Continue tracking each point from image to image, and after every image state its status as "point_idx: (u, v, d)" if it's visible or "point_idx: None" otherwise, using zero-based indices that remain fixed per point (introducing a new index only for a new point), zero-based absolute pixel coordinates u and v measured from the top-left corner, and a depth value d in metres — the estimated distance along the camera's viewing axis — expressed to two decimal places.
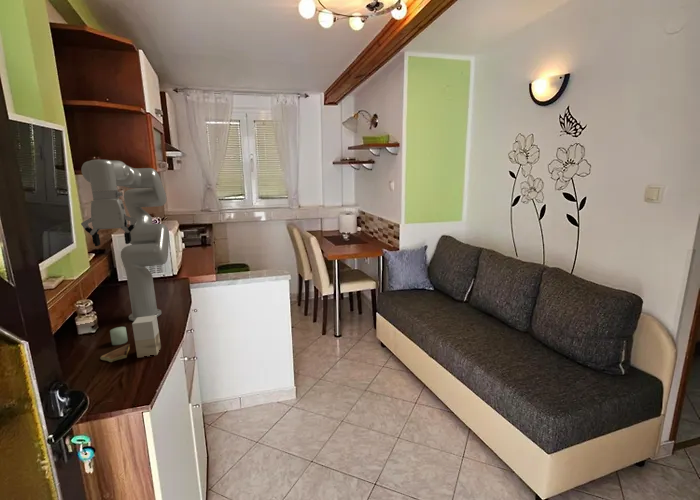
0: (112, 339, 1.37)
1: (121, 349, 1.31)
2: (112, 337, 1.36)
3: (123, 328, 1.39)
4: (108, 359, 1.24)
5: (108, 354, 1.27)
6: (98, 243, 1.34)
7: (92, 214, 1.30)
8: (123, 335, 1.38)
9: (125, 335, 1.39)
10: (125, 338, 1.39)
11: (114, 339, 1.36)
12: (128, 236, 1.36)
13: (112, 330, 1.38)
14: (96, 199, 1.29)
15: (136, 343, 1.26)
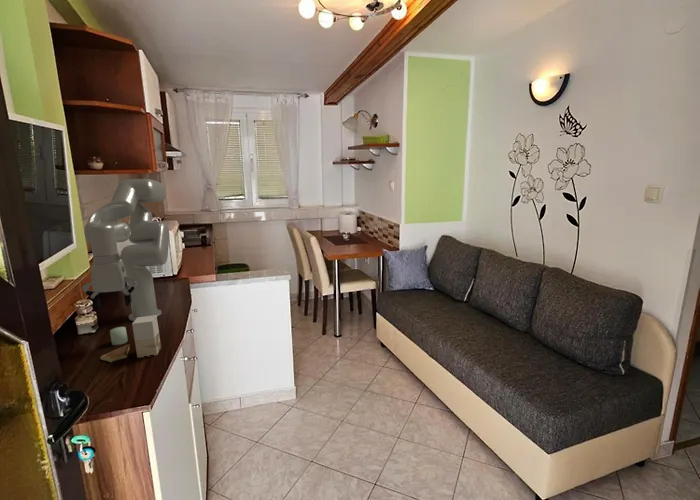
0: (112, 339, 1.37)
1: (121, 349, 1.31)
2: (112, 337, 1.36)
3: (123, 328, 1.39)
4: (108, 359, 1.24)
5: (108, 354, 1.27)
6: (98, 306, 1.35)
7: (93, 278, 1.31)
8: (123, 335, 1.38)
9: (125, 335, 1.39)
10: (125, 338, 1.39)
11: (114, 339, 1.36)
12: (128, 298, 1.36)
13: (112, 330, 1.38)
14: (97, 264, 1.30)
15: (136, 343, 1.26)
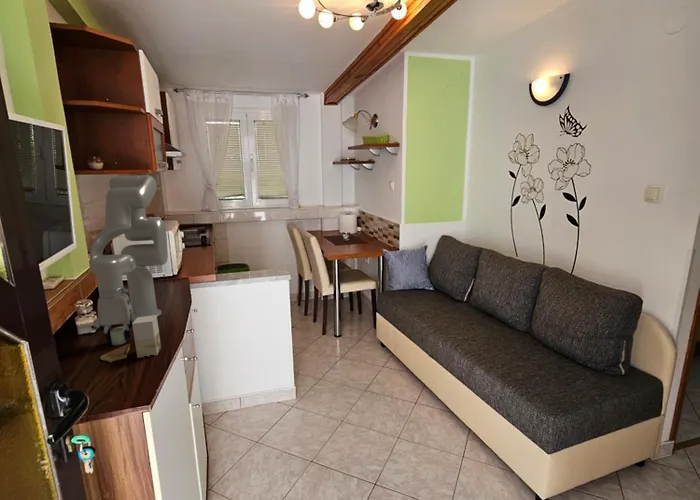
0: (112, 339, 1.37)
1: (121, 349, 1.31)
2: (112, 337, 1.36)
3: (123, 328, 1.39)
4: (108, 359, 1.24)
5: (108, 354, 1.27)
6: None
7: (99, 312, 1.34)
8: (123, 335, 1.38)
9: None
10: None
11: (114, 339, 1.36)
12: (128, 333, 1.39)
13: (112, 330, 1.38)
14: (103, 299, 1.32)
15: (136, 343, 1.26)
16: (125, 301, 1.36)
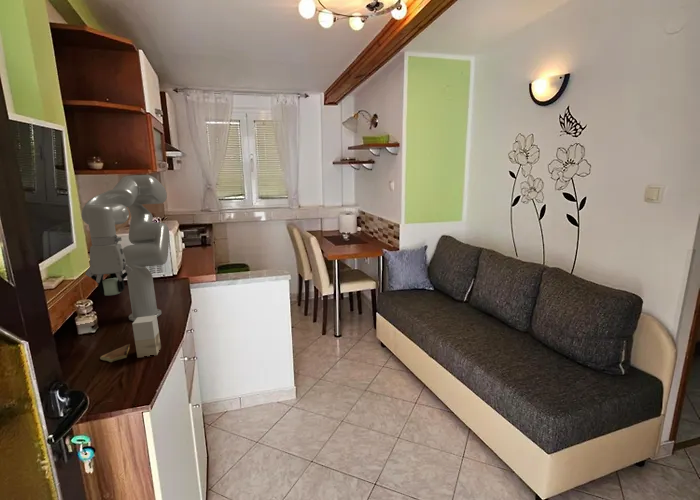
0: (104, 289, 1.33)
1: (121, 349, 1.31)
2: (104, 287, 1.32)
3: (116, 279, 1.35)
4: (108, 359, 1.24)
5: (108, 354, 1.27)
6: None
7: (91, 260, 1.30)
8: (116, 286, 1.34)
9: None
10: None
11: (107, 289, 1.32)
12: (121, 284, 1.35)
13: (105, 280, 1.34)
14: (95, 246, 1.28)
15: (136, 343, 1.26)
16: (118, 250, 1.32)
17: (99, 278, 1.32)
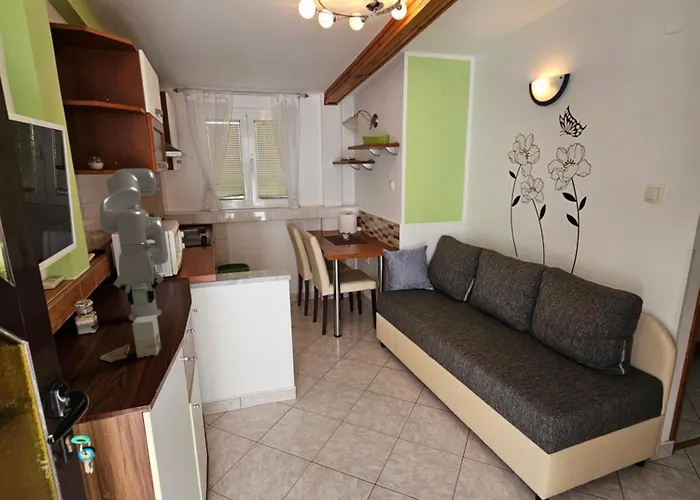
0: (134, 300, 1.24)
1: (121, 349, 1.31)
2: (134, 297, 1.24)
3: (146, 288, 1.26)
4: (108, 359, 1.24)
5: (108, 354, 1.27)
6: None
7: (120, 269, 1.21)
8: (146, 296, 1.25)
9: None
10: (148, 299, 1.26)
11: (137, 300, 1.23)
12: (152, 294, 1.26)
13: (134, 290, 1.25)
14: (125, 253, 1.20)
15: (136, 343, 1.26)
16: (149, 257, 1.23)
17: (128, 288, 1.23)
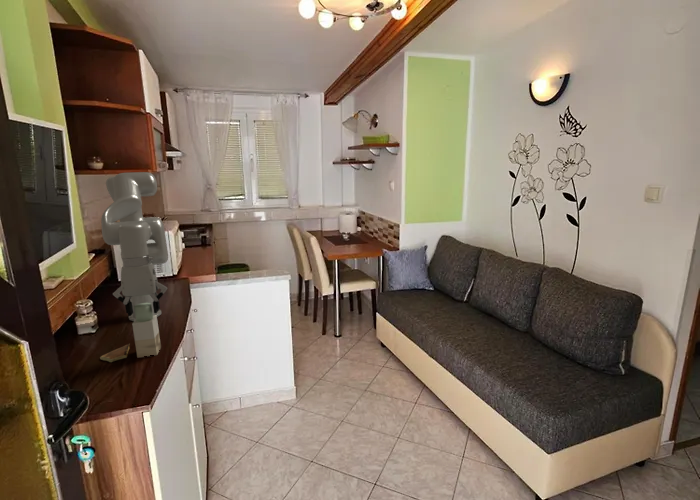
0: (137, 315, 1.25)
1: (121, 349, 1.31)
2: (137, 313, 1.25)
3: (148, 304, 1.27)
4: (108, 359, 1.24)
5: (108, 354, 1.27)
6: (131, 312, 1.26)
7: (122, 282, 1.22)
8: (149, 312, 1.26)
9: (150, 311, 1.27)
10: (150, 315, 1.27)
11: (139, 316, 1.25)
12: (157, 304, 1.27)
13: (137, 306, 1.26)
14: (127, 267, 1.21)
15: (136, 343, 1.26)
16: (151, 270, 1.24)
17: (127, 300, 1.24)
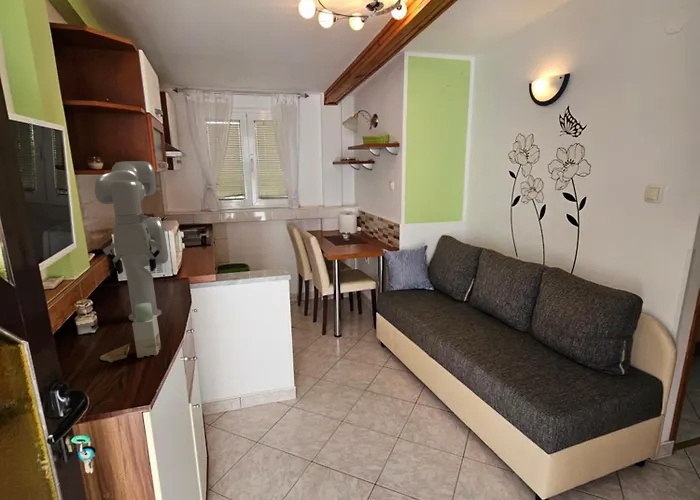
0: (137, 315, 1.25)
1: (121, 349, 1.31)
2: (137, 313, 1.25)
3: (148, 304, 1.27)
4: (108, 359, 1.24)
5: (108, 354, 1.27)
6: (121, 270, 1.24)
7: (115, 240, 1.20)
8: (149, 312, 1.26)
9: (150, 311, 1.27)
10: (150, 315, 1.27)
11: (139, 316, 1.25)
12: (153, 262, 1.25)
13: (136, 306, 1.26)
14: (120, 224, 1.19)
15: (136, 343, 1.26)
16: (144, 229, 1.22)
17: (117, 258, 1.22)
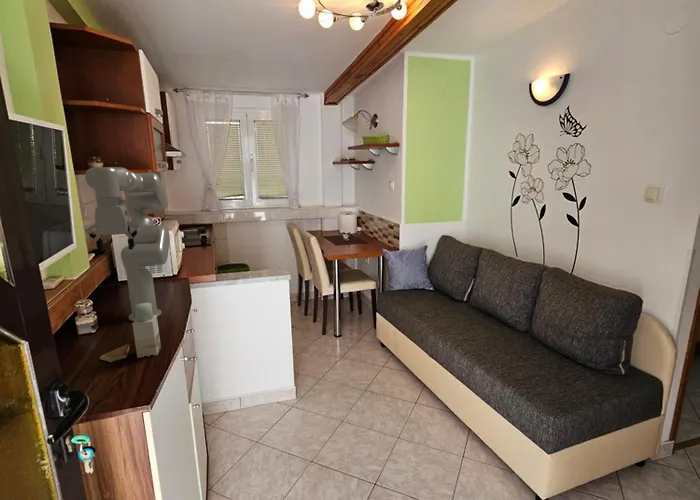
0: (137, 315, 1.25)
1: (121, 349, 1.31)
2: (137, 313, 1.25)
3: (148, 304, 1.27)
4: (108, 359, 1.24)
5: (108, 354, 1.27)
6: (102, 249, 1.37)
7: (96, 220, 1.33)
8: (149, 312, 1.26)
9: (150, 311, 1.27)
10: (151, 315, 1.27)
11: (139, 316, 1.25)
12: (131, 242, 1.38)
13: (137, 306, 1.26)
14: (100, 206, 1.32)
15: (136, 343, 1.26)
16: (122, 211, 1.35)
17: (98, 237, 1.35)
